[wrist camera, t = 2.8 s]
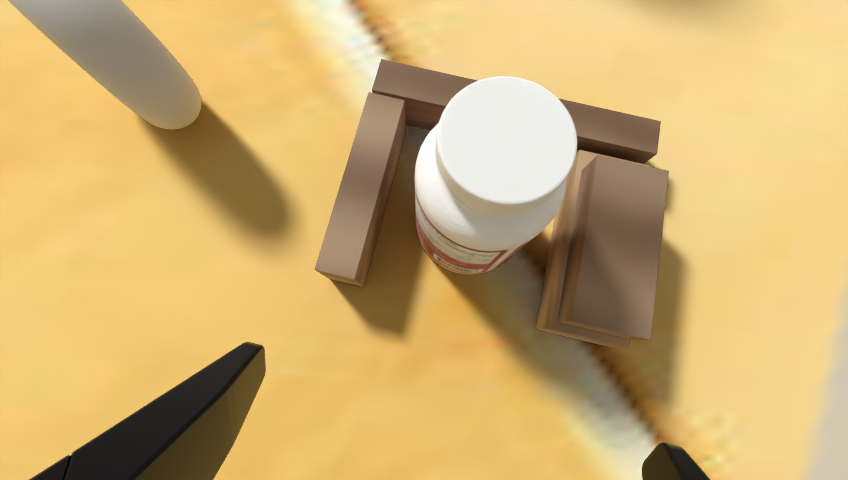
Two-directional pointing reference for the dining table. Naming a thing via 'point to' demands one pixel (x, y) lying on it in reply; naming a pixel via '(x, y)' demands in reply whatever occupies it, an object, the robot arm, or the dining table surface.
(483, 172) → the pill bottle
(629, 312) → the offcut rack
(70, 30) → the grey rounded piece
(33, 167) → the dining table surface
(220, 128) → the dining table surface
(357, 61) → the dining table surface
